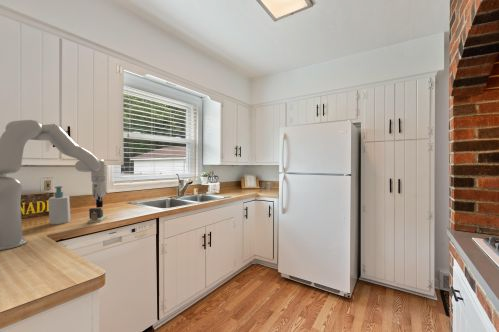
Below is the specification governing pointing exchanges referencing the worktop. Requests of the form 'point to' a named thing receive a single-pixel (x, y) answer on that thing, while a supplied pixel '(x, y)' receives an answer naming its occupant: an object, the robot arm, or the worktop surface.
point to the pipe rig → (96, 217)
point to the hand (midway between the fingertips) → (99, 207)
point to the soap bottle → (59, 208)
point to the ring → (95, 211)
